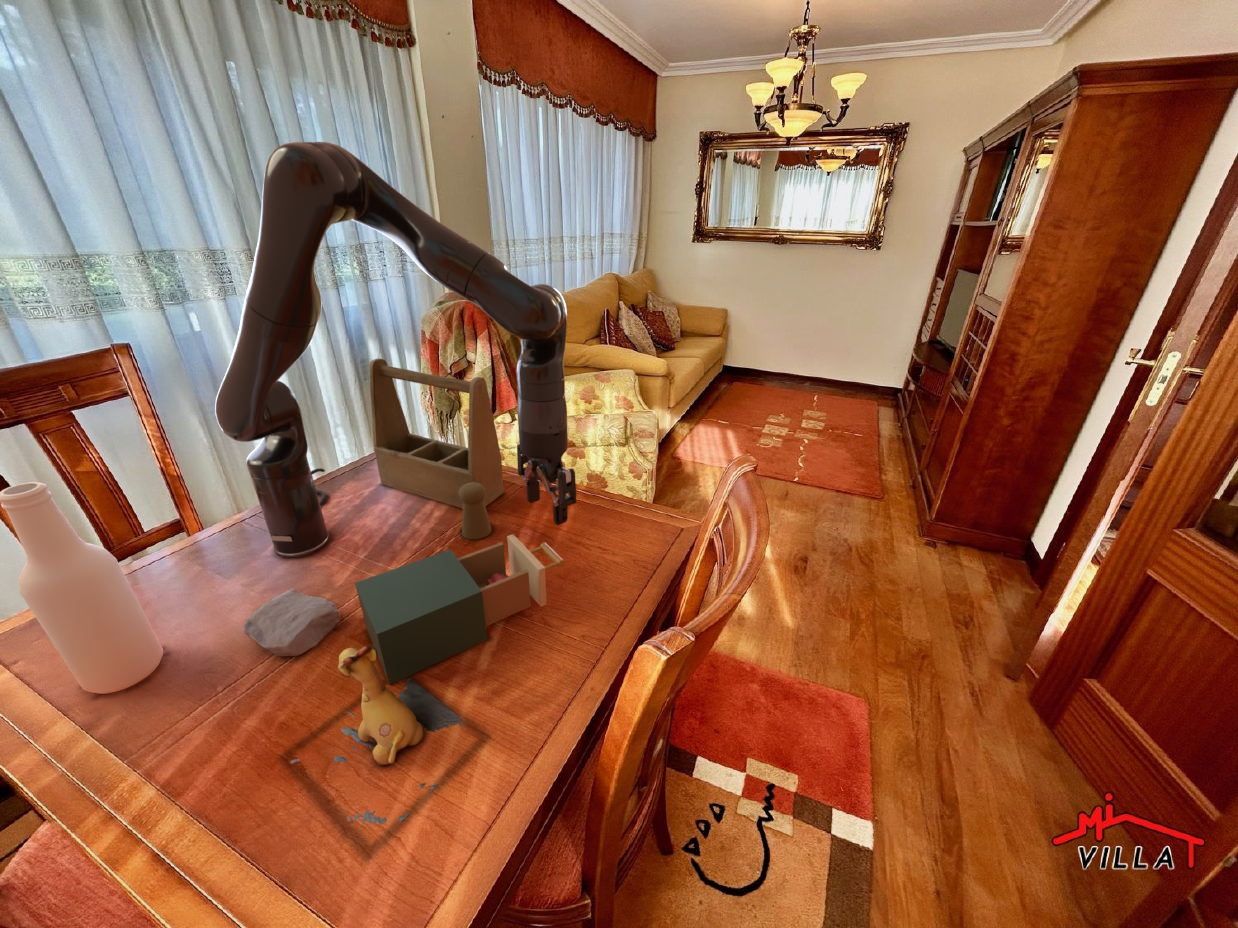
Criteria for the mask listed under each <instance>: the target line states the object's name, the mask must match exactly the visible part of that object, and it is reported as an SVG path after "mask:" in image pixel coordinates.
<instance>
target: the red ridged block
mask: <svg viewBox="0 0 1238 928" xmlns="http://www.w3.org/2000/svg"><path fill="white" fill-rule="evenodd" d="M504 578H506V577H505V576H504V575H503V574H501V575H500V574H498V573H495V574H493V575H492V578H491V579H488V580H487V585H490V584H492V583H494V582H497V581H499V580H502V579H504Z"/></svg>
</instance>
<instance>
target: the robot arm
mask: <svg viewBox="0 0 1238 928" xmlns="http://www.w3.org/2000/svg"><path fill="white" fill-rule="evenodd" d="M260 209H261V210H260V222H259V231H258V239H257V245H256V248H255V254H254V259H253V264H252V270H251V275H250V278H249V282H248V286H247V289H246V293H245V297H244V302H243V306H242V311H241V316H240V323H239V328H238V329H239V330H238V332H237V336H236V340H235V345H234V347H233V350H232V354H231V359H230V361H229V365H228V367H227V369H226V372H225V374H224V377H223V379H222V382H221V383H220V387H219V389H218V391H217V394H216V398H215V403H214V412H215V418H216V421H217V424H218V426H219V428H220V429H221V431H222V432H223V433H224V435H226V436H227V437H229V438H230V439H231V440H234V441H235V442H241V443H250V442H255V441H259V440H261V441H260V443H259V444H258V445H257V446H256V447H255V448H254V449H253V450H252V451H251V452H250V453H249V454H248V456H247V457H246V460H245V464H246V468H247V471H248V475H249V477H250V480H251V483H252V486H253V489H254V491H255V494H256V498H257V501H258V503H259V506H260V509H261V512H262V515H263V518H264V521H265V524H266V527H267V531H268V532H269V535H270V539H271V542H272V544H273V550H274V553H275V554H276V556H278V557H281V558H286V559H295V558H300V557H302V558H303V557H305V556H308V555H311V554H314V553H316V552H319V550H321V549H323V548H324V547H325V546H327V545H328V543H329V541H330V533H329V531H328V529H327V524H326V521H325V518H324V517H325V516H324V514H323V510H322V507H323V505H324V503H325V502H326V500H327V493H325V492H324V491H322V490H319V489H316V485H315V480H314V478H313V475H314V474H316V473H319V472H321V473H324V472H326V470H325V469H324V468H322V467H321V468H319V467H318V468H315V469H312V470H311V467H310V463H309V460H308V457H307V455H308V450H309V444H308V440H307V434H306V430H305V425H304V419H303V416H302V415H303V414H302V410H301V407H300V404H299V401H298V399H297V397H296V395H295V393H294V391H293V390H292V389H291V387H290V386H288V385H287V384H286V383H285V382H283V381H282V380H280V379H281V378H282V377H283V376H284V375H285V374H286V373H287V372H288V371H289V369H290V368H291V367H292V366H294V364H295V363H296V362H297V361H299V359H300V358H301V357H302V356H303V355H304V353H305V352H306V351H307V349H308V348H309V347H310V346H311V343H312V341H313V339H314V336H315V334H316V330H317V327H318V324H319V320H320V317H321V314H322V306H323V303H322V296H321V291H320V288H319V285H318V282H317V279H316V275H315V265H316V259H317V256H318V253H319V251H320V247H321V244H322V241H323V240H324V237H325V236H326V233H327V231H328V229H329V228H330V227H331V226H332V225H335V224H339V223H343V222H348V221H354V222H355V223H358V224H361V225H363V226H366V227H368V228H370V229H372V230H375V231H377V232H379V233H380V234H382V235H383V236H385V237H386V238H388V239H390V240H391V241H393V242H394V243H395V244H396V245H397V246H398V247H400V248H401V250H403V251H404V252H405V253H406V254H407V256H409V258H410V259H411V260H412V261H413V262H414V263H415V264H416V265H417V267H419V268H420V269H421V270H422V271H423V272H424V273H425V274H426V275H427V276H428V277H430V278H431V279H432V280H434V281H435V282H436V283H438V284H439V285H441V286H442V287H443V288H446V289H447V290H449V291H451V292H453V293H454V294H456V295H457V296H459V297H461V298H463V299H464V300H466V301H467V302H469V303H471V304H473V305H475V306H477V307H478V308H480V309H481V311H482V312H483V313H485V314H486V315H487V316H488V317H489V318H490V319H492V320H493V321H494V322H495V323H496V324H498V325H499V326H501V328H502V329H504V330H505V331H507V332H508V333H510V334H511V335H513V336H514V337H516V338H518V339H519V340H521V351H520V355H519V357H518V360H517V364H516V384H517V408H516V409H517V410H516V411H517V413H516V414H517V427H518V439H519V441H518V442H519V444H516V456H517V457H516V459H517V474H518V476H519V477H523V478H522V479H523V482H524V483H525V489H526V501H527V502H528V503H529V504H533V503H536V502H539V501H540V499H541V488H540V486H541V485H540V483H542V485H543V488H544V490H545V493H547V494H548V495H550V499H551V501H552V512H553V515H552V516H553V524H555V525H556V526H560V525H563V524H565V523H567V522H568V519H569V516H568V507H569V506H572V505H574V504H577V487H576V485H577V484H576V471H575V470H574V468H569V469H567V468H565V467H564V464H563V460H562V458H563V455H565V453H566V452H567V450H568V449H569V448H568V447H569V440H568V438H569V436H568V435H569V433H568V406H567V400H566V378H565V377H566V376H565V363H564V362H565V361H564V360H565V351H566V343H567V342H566V341H567V328H568V313H567V312H568V311H567V305H566V301H565V300H564V297H563V295H562V294H561V293H560V292H559V290H558V289H556V288H555V287H554V286H552V285H549V284H545V283H537V284H536V283H535V284H533V285H530V284H528V283H526V282H524V281H523V280H521V279H520V278H518V277H517V276H516V275H514V274H512V273H510V272H509V271H508V268H507V267H506V265H505V263H504V262H503V261H501V260H500V259H499V258H498V257H496V256H495V255H493V254H492V253H491V252H488V251H487V250H485V249H483V248H482V247H481V246H479V245H477V244H476V243H474V242H472V241H471V240H469V239H467V238H466V237H464V236H462V235H461V234H459V233H458V232H456V231H455V230H453V229H451V228H450V227H448V226H447V225H444V224H443V223H441V222H440V221H439V220H437V219H436V218H434V217H433V216H431V215H430V214H429V213H427V212H426V211H425V210H423V209H421V208H420V207H419V206H417V205H416V204H415V203H413V202H412V201H411V200H410V199H408V198H407V197H406V196H405V195H403V194H402V193H400V192H399V191H398V190H397V189H396V188H394V187H393V186H392V185H391V184H389V183H388V182H386V180H384V179H383V178H382V177H381V176H380V175H378V174H377V173H376V172H375V171H374V170H373V169H372V168H371V167H369V166H368V165H366V164H365V163H364V162H363V161H362V160H361V159H359V158H358V157H357V156H355V155H354V154H353V153H351V152H350V151H349V150H347V149H345V147H343V146H340V145H338V144H335V143H332V142H327V141H293V142H287V143H283V144H281V145H279V146H277V147H276V148H275V149H273V151H272V152H271V154H270V155H269V156H268V159H267V162H266V165H265V169H264V176H263V183H262V196H261V208H260ZM525 464H526V466H525V467H524V465H525ZM554 483H557V484H556V485H552V484H554ZM557 491H558V494H557ZM319 495H321V500H319Z"/></svg>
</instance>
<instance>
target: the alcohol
mask: <svg viewBox="0 0 1238 928" xmlns="http://www.w3.org/2000/svg"><path fill="white" fill-rule="evenodd" d="M52 496H53V495H52V492H51V491H49V490H48V485H47V484H46V483H44V482H39V481H29V482H23V483H18V484H14V485H11V486H8V487H6V488H4V489H2V490H1V491H0V506H1V508H2V509H3V510H5V511H6V514H7V516H8V518H9V521H10V522H11V524H12V527H13V529H14V531H15V534H16V535H17V537H18V539H19V543H20V544H21V546H22V549H23V551H24V553H25V555H26V563H25V565H24V566H23V568H22V570H21V571H20V574H19V575H18V578H17V581H18V582H17V583H18V588H19V593H20V596H21V597H22V598H23V599H24V602H25V603H26V605H27V606H28V608H29V609H30V611H31V612H32V614H33V615H34V617H35V619H36V620H37V621H38V623H39V625H40V626H41V628H42V629H43V631H44V632H45V634H46V635H47V638H49V640H50V641H51V643H52V645H53V646H54V648H55V649H56V652H58V654H59V655H60V657H61V659H62V660H63V662H64V663H65V665H66V666H67V668H68V669H69V671H70V672H71V674H72V676H73V677H74V679H75V680H76V682H77V683H78V685H79V686H80V688H81V689H82V690H83V691H86V692H89V693H94V694H98V695H102V694H103V695H104V694H113V693H117V692H121V691H123V690H125V689H128V688H130V687H132V686H134V685H136V684H138V683H140V682H141V681H143V680H145V679H146V678H147V677H148V676H150V675H151V674H152V673H153V672H154V671H156V669H157V668H158V666H159V665H160V663H161V660H162V658H163V655H164V649H163V646H162V644H161V642H160V640H159V639H158V636H157V635H156V632H155V631H154V629H153V627H152V624H151V623H150V620H149V619H148V617H147V615H146V614H145V612H144V609H143V607H142V606H141V604H140V602H139V600H138V598H137V596H136V594H135V592H134V589H133V588H132V586H131V584H130V582H129V581H128V578H127V577H126V575H125V573H124V571H123V569H122V567H121V565H120V562H119V561H118V559H117V558H116V557H115V556H114V555H113V554H112V553H111V552H110V551H109V550H107V549H106V548H104V547H102V546H100V545H98V544H97V545H96V544H94V543H90V542H86V541H85V540H83V539H82V538H81V537H80V536H79V535H78V533H77V531H76V530H75V528H74V527H73V526H72V524H71V523H70V521H69V520H68V519H67V517H66V516H65V514H64V513H63V512H62V511H61V509H60V507H59V506H58V505H57V503H56V502H55V499H53V497H52Z"/></svg>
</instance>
